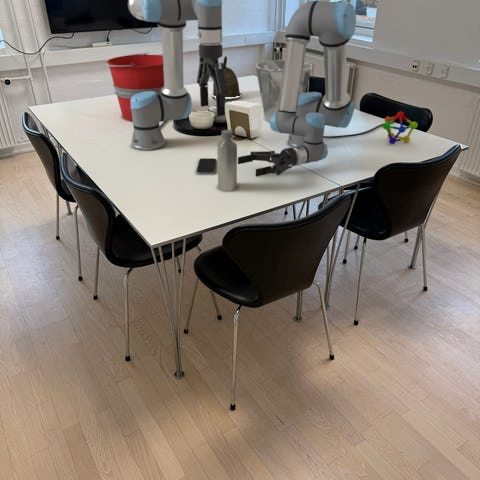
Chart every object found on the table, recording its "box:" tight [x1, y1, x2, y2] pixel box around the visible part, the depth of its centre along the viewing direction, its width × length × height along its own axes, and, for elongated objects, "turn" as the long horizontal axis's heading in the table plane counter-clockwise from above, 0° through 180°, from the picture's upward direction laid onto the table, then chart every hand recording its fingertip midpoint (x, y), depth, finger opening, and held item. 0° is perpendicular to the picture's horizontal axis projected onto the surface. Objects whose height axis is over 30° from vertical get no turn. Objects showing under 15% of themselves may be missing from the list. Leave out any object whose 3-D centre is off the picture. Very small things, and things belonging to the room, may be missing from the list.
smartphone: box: [196, 157, 217, 175], centre depth 184 cm, size 7×1×15 cm
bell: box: [212, 56, 242, 97], centre depth 278 cm, size 19×26×20 cm
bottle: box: [216, 138, 238, 192], centre depth 163 cm, size 7×7×21 cm
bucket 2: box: [255, 59, 313, 122], centre depth 236 cm, size 30×30×28 cm
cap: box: [220, 129, 233, 139], centre depth 157 cm, size 4×4×2 cm
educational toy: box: [382, 110, 418, 145], centre depth 207 cm, size 16×13×15 cm
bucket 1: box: [103, 52, 164, 122], centre depth 240 cm, size 35×35×30 cm
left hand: (212, 110), depth 152 cm, fingers open, 13 cm apart
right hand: (246, 166), depth 168 cm, fingers open, 13 cm apart
